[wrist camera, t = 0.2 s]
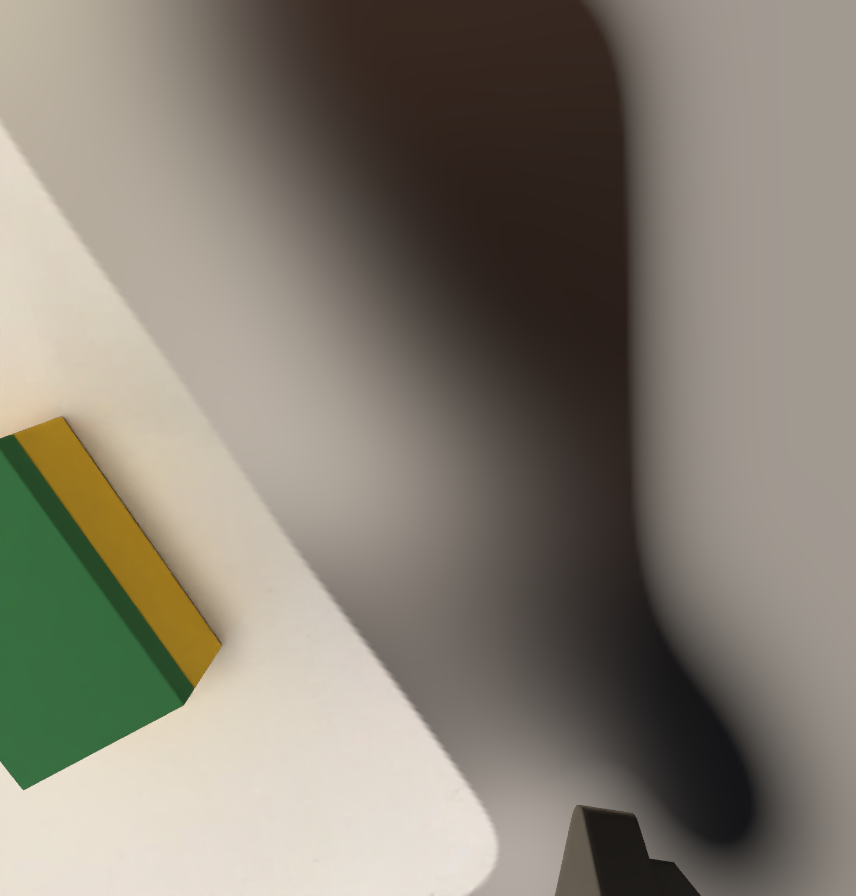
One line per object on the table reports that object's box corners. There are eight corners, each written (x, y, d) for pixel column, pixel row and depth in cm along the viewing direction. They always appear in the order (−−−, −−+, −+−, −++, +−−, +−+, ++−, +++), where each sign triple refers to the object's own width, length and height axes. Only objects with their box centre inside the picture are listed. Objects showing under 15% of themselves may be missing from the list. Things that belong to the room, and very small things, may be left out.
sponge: (62, 415, 23) (-7, 440, 20) (222, 645, 25) (184, 705, 21) (-83, 506, 24) (-173, 544, 21) (81, 722, 26) (22, 791, 22)
